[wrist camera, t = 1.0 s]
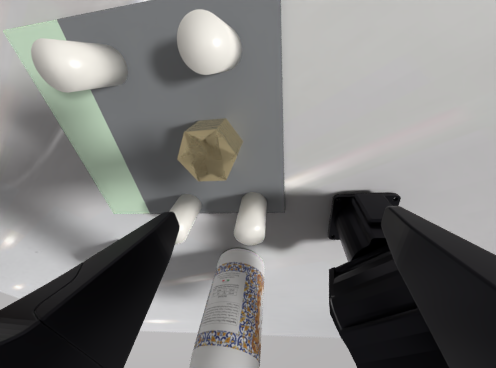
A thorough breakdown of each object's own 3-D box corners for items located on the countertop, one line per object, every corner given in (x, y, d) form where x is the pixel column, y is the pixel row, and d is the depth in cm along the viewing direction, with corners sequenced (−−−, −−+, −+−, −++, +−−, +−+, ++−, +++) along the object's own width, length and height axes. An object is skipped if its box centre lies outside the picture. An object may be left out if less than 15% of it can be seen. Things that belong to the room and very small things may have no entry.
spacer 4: (267, 212, 23) (265, 245, 19) (243, 212, 24) (236, 245, 20) (266, 191, 22) (263, 222, 18) (239, 192, 22) (231, 223, 18)
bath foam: (259, 279, 31) (241, 530, 15) (217, 270, 31) (150, 510, 15) (269, 252, 28) (261, 547, 11) (222, 242, 28) (139, 521, 11)
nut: (245, 162, 20) (240, 179, 17) (197, 165, 21) (184, 181, 18) (239, 117, 18) (233, 128, 15) (185, 121, 19) (168, 133, 16)
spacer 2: (204, 213, 25) (189, 244, 20) (181, 213, 25) (163, 243, 21) (198, 193, 23) (181, 223, 19) (174, 194, 24) (152, 223, 19)
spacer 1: (133, 83, 17) (87, 90, 13) (104, 86, 18) (51, 94, 14) (118, 41, 16) (60, 34, 12) (86, 47, 16) (20, 42, 12)
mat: (284, 210, 23) (284, 212, 23) (115, 212, 27) (113, 214, 27) (280, -24, 13) (280, -26, 13) (7, 30, 17) (2, 30, 16)
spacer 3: (244, 69, 16) (232, 71, 12) (208, 73, 16) (185, 77, 12) (239, 21, 14) (223, 4, 10) (199, 27, 15) (169, 14, 10)
